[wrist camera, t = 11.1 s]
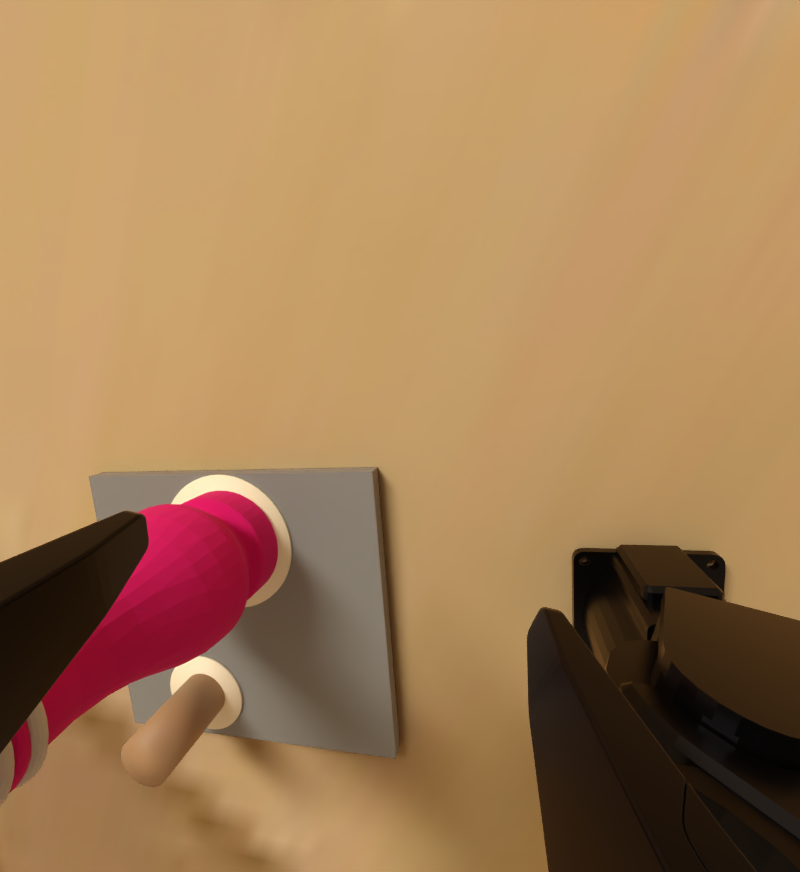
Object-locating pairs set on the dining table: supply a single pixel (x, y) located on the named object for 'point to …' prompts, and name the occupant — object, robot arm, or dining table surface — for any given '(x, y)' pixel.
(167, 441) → the dining table surface
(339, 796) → the dining table surface
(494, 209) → the dining table surface
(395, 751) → the board
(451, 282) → the dining table surface
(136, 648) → the pepper mill
